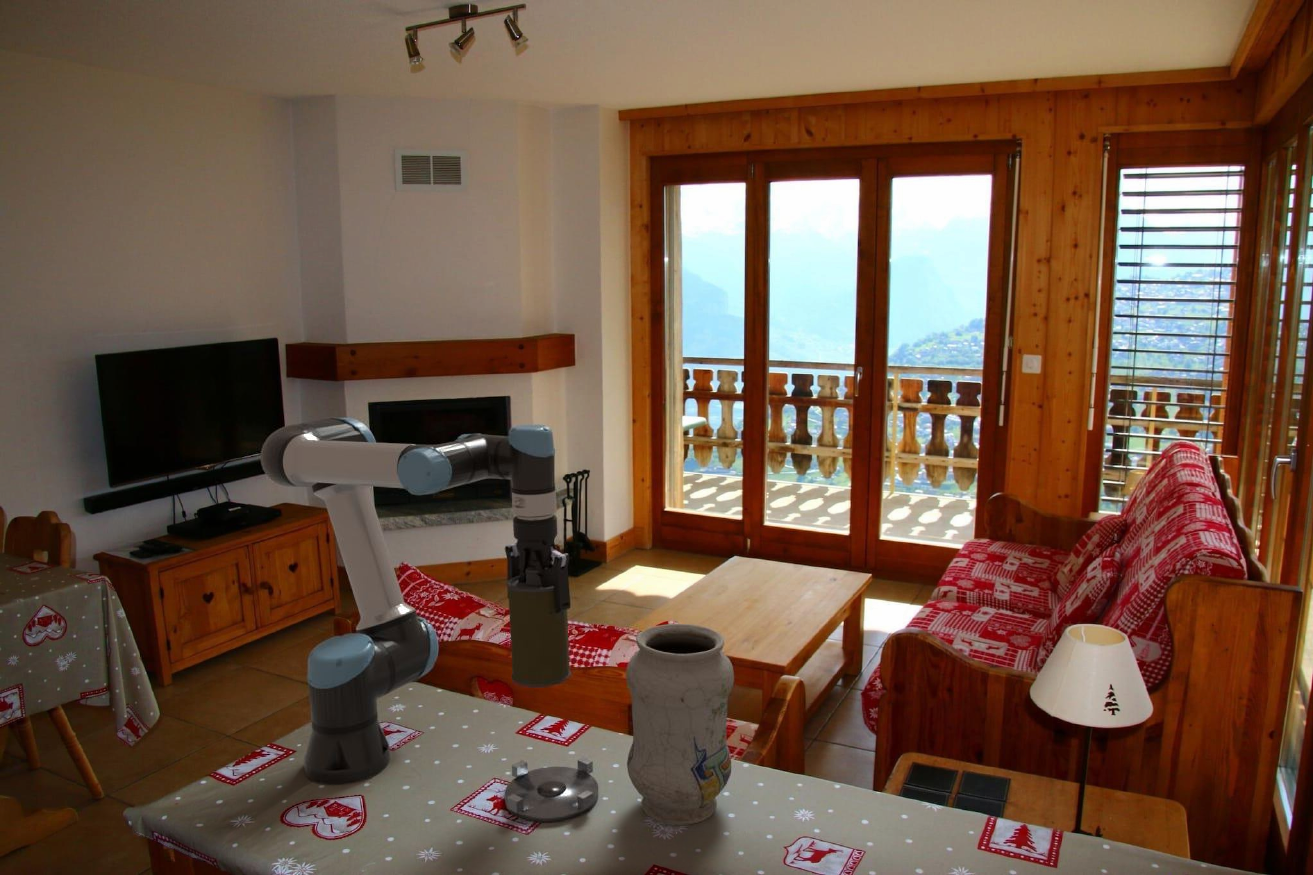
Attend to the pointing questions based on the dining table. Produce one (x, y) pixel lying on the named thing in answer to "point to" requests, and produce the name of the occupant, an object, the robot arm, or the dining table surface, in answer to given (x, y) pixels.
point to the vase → (679, 721)
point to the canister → (537, 633)
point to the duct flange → (551, 792)
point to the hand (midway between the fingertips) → (540, 643)
